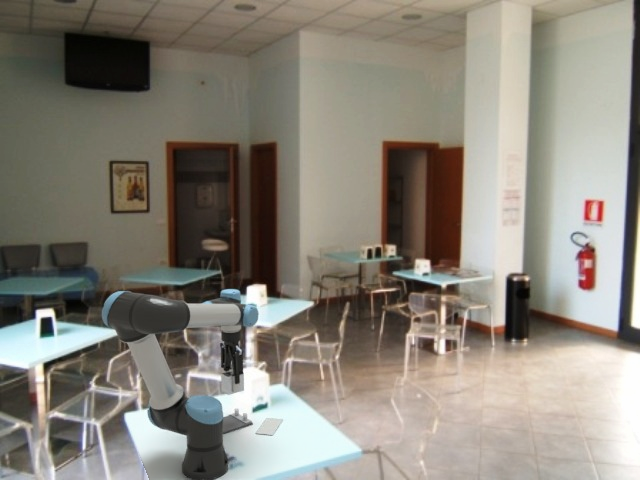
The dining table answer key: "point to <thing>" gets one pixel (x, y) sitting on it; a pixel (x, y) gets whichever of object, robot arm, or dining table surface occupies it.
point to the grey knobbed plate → (235, 422)
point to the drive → (230, 382)
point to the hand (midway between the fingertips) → (232, 389)
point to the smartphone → (269, 426)
